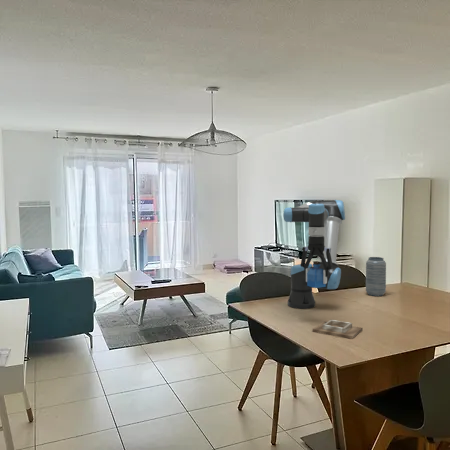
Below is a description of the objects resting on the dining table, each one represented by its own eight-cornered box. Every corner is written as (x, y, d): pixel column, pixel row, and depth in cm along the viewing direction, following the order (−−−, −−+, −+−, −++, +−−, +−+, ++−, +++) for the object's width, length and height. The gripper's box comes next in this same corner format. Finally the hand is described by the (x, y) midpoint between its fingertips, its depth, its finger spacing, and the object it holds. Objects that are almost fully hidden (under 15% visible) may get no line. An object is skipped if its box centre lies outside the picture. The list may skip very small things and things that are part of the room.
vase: (388, 296, 251) (389, 259, 250) (369, 296, 251) (369, 259, 250) (381, 292, 263) (382, 256, 261) (363, 292, 263) (363, 256, 262)
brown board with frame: (312, 331, 186) (312, 324, 186) (324, 323, 198) (324, 317, 198) (352, 339, 176) (352, 331, 176) (362, 330, 187) (362, 323, 187)
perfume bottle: (315, 288, 197) (315, 263, 196) (307, 285, 203) (307, 261, 202) (325, 286, 200) (325, 261, 199) (317, 284, 205) (317, 260, 205)
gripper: (293, 235, 203) (293, 281, 204) (334, 237, 191) (334, 286, 192) (299, 234, 209) (299, 278, 210) (340, 236, 197) (340, 283, 198)
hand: (316, 282), depth 201 cm, fingers closed on perfume bottle, 8 cm apart
